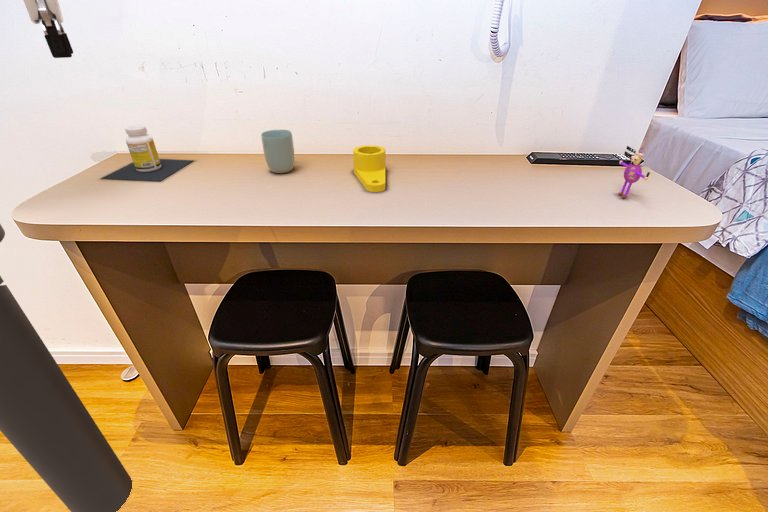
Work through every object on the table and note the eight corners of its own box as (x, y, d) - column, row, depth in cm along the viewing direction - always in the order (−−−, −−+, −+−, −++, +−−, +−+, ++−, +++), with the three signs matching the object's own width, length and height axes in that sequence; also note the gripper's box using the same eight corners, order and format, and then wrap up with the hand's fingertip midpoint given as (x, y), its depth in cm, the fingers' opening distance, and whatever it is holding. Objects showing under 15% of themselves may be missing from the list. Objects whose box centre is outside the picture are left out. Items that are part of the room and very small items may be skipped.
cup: (294, 164, 108) (290, 128, 103) (298, 174, 102) (293, 136, 97) (266, 167, 106) (260, 130, 101) (268, 177, 100) (261, 138, 95)
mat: (101, 178, 99) (101, 178, 99) (141, 159, 112) (141, 158, 112) (160, 181, 97) (159, 180, 97) (193, 161, 111) (193, 160, 111)
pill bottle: (152, 163, 108) (139, 123, 102) (167, 167, 106) (154, 126, 100) (131, 170, 103) (116, 128, 98) (146, 174, 101) (131, 131, 95)
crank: (352, 167, 106) (351, 146, 103) (382, 166, 107) (382, 144, 104) (359, 193, 91) (358, 168, 88) (394, 191, 92) (394, 166, 89)
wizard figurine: (605, 187, 95) (622, 138, 88) (618, 187, 95) (636, 138, 88) (630, 207, 85) (650, 153, 79) (644, 207, 85) (666, 153, 79)
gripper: (6, -42, 78) (45, 53, 87) (-10, -53, 66) (38, 60, 75) (52, -40, 81) (85, 52, 90) (45, -49, 69) (84, 58, 78)
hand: (64, 55), depth 83 cm, fingers open, 9 cm apart
